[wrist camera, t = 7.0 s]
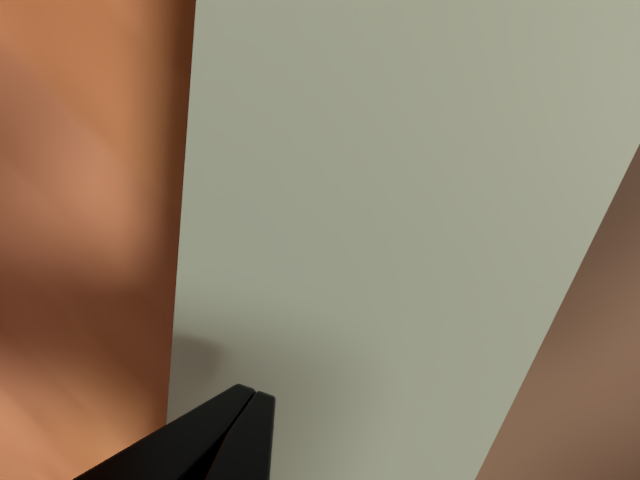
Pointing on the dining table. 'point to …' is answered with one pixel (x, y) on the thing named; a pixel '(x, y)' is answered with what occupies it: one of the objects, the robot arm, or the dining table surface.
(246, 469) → the robot arm
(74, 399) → the dining table surface
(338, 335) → the tailgate
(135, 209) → the dining table surface
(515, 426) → the brown shallow tray
